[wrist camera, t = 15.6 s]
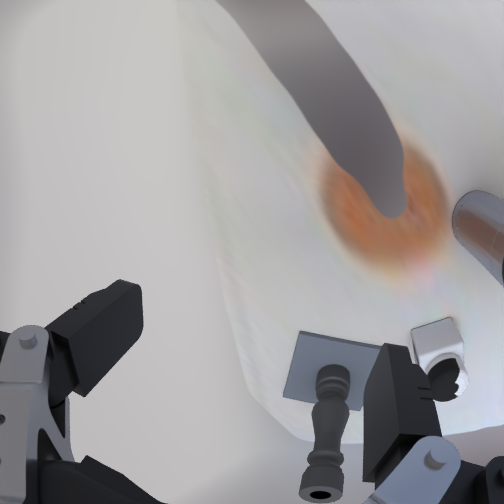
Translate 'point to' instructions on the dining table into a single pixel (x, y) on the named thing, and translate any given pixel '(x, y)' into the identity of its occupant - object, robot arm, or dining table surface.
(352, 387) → the mat
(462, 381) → the container
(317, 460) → the candle holder
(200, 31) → the dining table surface
